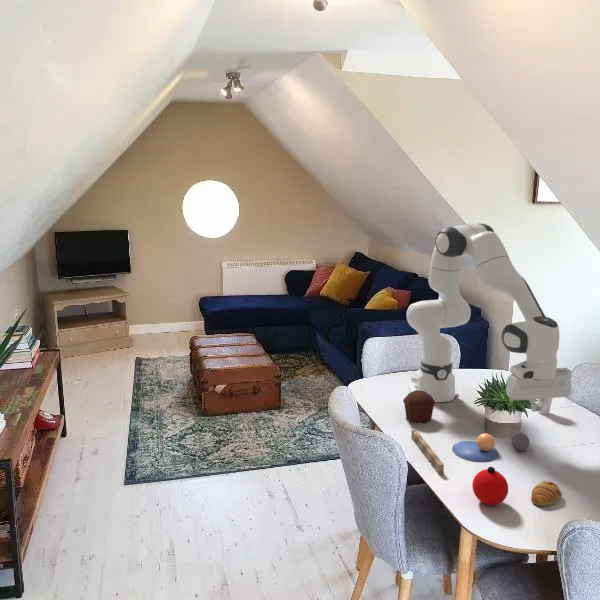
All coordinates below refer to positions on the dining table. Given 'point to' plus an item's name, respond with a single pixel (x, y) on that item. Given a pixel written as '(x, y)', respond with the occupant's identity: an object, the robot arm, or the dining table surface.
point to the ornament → (490, 486)
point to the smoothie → (545, 406)
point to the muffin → (419, 407)
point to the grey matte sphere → (520, 441)
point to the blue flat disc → (474, 452)
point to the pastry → (545, 494)
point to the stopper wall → (427, 452)
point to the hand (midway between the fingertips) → (536, 410)
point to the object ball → (485, 442)
